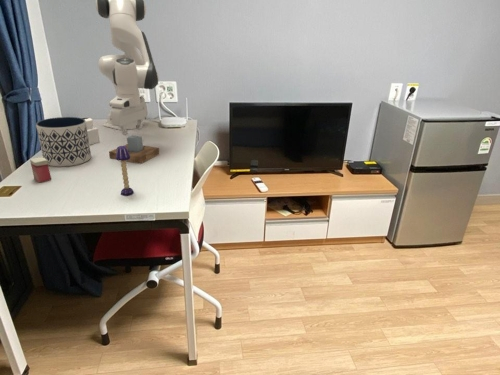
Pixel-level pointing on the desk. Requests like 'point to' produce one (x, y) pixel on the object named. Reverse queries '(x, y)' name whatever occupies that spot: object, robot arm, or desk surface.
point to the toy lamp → (124, 168)
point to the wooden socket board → (138, 154)
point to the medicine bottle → (92, 131)
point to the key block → (135, 143)
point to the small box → (40, 169)
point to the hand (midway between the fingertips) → (132, 131)
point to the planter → (64, 141)
